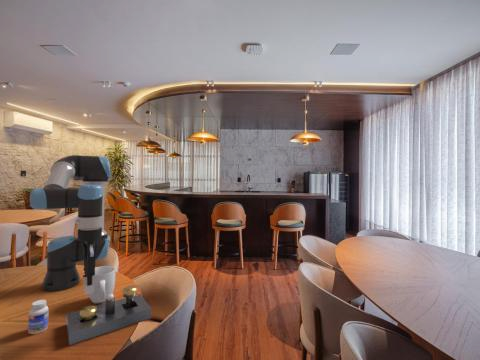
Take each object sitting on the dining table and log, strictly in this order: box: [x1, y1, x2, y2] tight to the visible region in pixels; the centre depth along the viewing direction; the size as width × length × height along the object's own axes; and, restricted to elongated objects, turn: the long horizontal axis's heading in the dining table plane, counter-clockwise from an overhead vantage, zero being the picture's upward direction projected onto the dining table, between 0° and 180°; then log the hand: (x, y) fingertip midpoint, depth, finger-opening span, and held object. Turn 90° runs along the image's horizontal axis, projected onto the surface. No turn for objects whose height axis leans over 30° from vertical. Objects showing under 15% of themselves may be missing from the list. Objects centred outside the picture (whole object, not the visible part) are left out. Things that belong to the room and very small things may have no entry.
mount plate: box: [66, 294, 152, 347], centre depth 92 cm, size 14×26×4 cm, turn 128°
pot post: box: [104, 293, 116, 313], centre depth 92 cm, size 3×3×6 cm
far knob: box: [122, 285, 138, 306], centre depth 97 cm, size 5×5×6 cm
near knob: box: [79, 305, 97, 322], centre depth 88 cm, size 5×5×6 cm
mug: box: [87, 265, 116, 304], centre depth 107 cm, size 15×11×13 cm
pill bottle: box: [27, 299, 49, 335], centre depth 86 cm, size 5×5×10 cm
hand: (88, 292), depth 88 cm, fingers closed
